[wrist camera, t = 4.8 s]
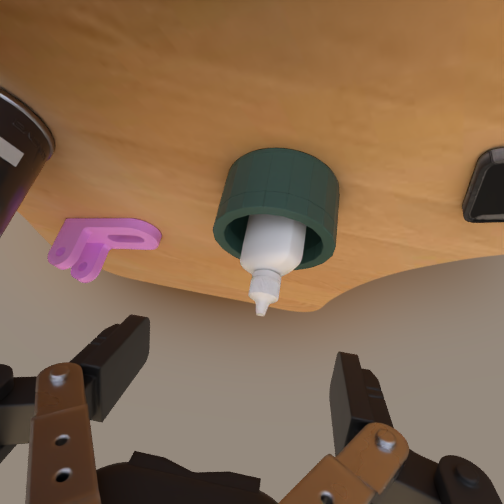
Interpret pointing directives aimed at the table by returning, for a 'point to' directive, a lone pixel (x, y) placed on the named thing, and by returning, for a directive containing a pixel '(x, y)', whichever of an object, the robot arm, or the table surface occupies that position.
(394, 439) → the robot arm
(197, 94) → the table surface
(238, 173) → the green short hollow cylinder
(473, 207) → the phone
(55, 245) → the bracket
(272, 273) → the eye dropper bottle
